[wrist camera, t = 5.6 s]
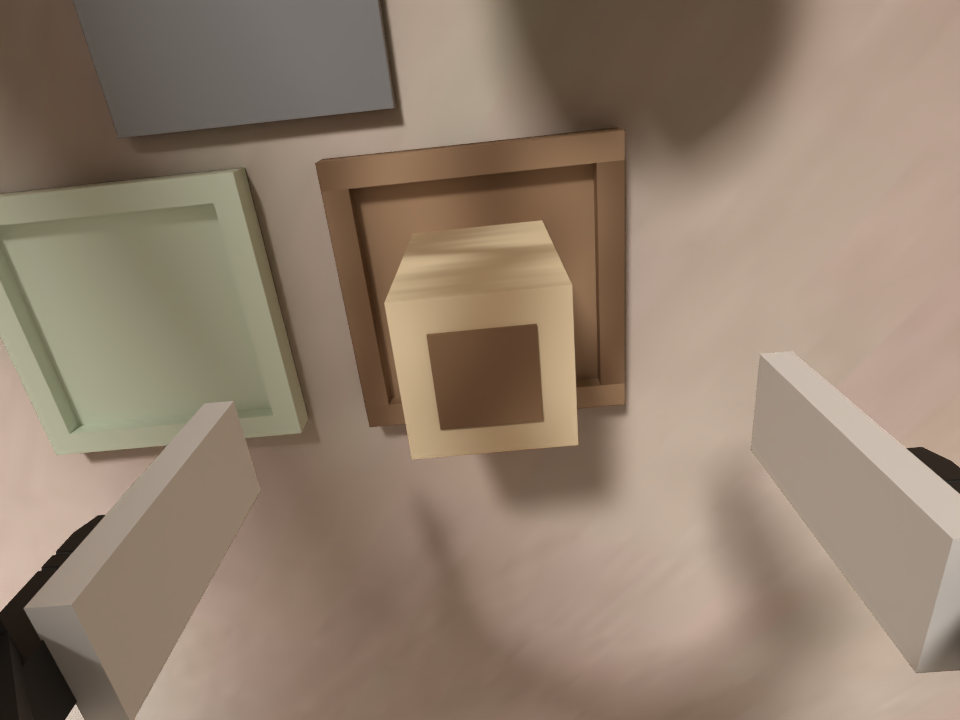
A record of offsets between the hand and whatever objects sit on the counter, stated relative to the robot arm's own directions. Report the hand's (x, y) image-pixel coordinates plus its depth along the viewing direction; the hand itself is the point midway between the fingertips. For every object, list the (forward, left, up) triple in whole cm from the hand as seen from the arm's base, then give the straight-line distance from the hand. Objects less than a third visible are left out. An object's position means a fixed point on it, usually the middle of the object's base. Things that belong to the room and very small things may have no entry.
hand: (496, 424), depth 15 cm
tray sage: (-14, 0, -11) cm, 18 cm away
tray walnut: (0, 0, -11) cm, 11 cm away
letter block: (0, 0, -10) cm, 10 cm away
